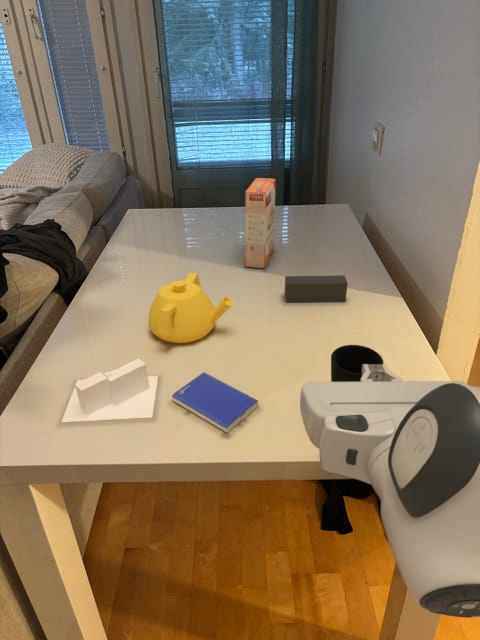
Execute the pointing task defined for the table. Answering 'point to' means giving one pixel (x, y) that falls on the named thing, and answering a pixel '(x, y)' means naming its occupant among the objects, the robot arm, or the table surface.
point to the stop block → (315, 289)
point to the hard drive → (215, 401)
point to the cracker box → (259, 222)
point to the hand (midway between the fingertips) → (373, 368)
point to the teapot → (184, 311)
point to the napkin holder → (113, 395)
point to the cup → (351, 362)
